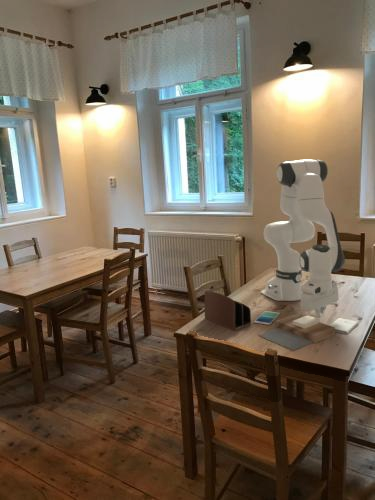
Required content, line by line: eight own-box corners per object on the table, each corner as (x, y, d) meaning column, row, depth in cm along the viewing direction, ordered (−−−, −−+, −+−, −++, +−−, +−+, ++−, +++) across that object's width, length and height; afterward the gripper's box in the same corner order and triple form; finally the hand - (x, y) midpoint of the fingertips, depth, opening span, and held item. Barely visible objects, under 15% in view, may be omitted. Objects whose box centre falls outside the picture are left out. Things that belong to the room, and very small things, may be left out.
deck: (275, 327, 171) (275, 320, 170) (295, 320, 177) (295, 313, 177) (315, 343, 155) (315, 335, 154) (334, 334, 161) (334, 327, 160)
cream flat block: (292, 324, 166) (292, 320, 166) (307, 318, 171) (307, 315, 170) (304, 328, 161) (304, 325, 161) (319, 322, 166) (319, 319, 166)
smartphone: (280, 312, 186) (269, 324, 173) (280, 314, 186) (269, 326, 174) (264, 310, 190) (253, 321, 177) (264, 312, 190) (253, 323, 177)
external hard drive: (327, 330, 166) (338, 320, 175) (347, 335, 161) (358, 324, 170) (327, 327, 166) (338, 317, 175) (347, 331, 161) (358, 321, 170)
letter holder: (234, 331, 170) (233, 299, 167) (204, 318, 186) (203, 289, 183) (251, 324, 176) (250, 293, 173) (220, 313, 191) (219, 284, 188)
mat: (258, 335, 164) (258, 334, 164) (277, 328, 170) (277, 327, 170) (293, 351, 149) (293, 350, 149) (312, 342, 155) (312, 341, 155)
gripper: (329, 278, 176) (329, 308, 178) (297, 288, 164) (297, 320, 167) (342, 281, 171) (341, 312, 173) (310, 291, 159) (310, 324, 162)
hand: (320, 316), depth 170 cm, fingers closed
